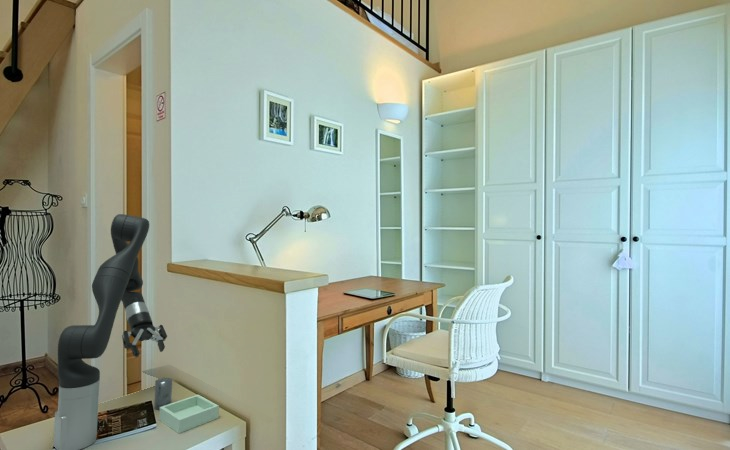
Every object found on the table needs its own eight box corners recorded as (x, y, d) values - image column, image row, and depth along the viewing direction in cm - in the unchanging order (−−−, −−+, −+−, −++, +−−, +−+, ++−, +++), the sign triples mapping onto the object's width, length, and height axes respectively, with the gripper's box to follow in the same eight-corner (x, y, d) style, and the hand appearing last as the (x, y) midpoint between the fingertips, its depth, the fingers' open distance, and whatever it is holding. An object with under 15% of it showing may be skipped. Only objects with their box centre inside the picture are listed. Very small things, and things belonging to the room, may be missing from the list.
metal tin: (158, 411, 127) (159, 384, 127) (151, 406, 130) (152, 380, 130) (173, 406, 131) (175, 380, 131) (166, 401, 134) (167, 376, 135)
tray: (178, 433, 114) (179, 420, 114) (159, 419, 122) (159, 407, 122) (218, 417, 124) (218, 405, 124) (197, 406, 132) (198, 394, 132)
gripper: (120, 313, 138) (132, 352, 131) (161, 308, 150) (173, 343, 142) (114, 325, 142) (125, 363, 134) (154, 319, 153) (166, 354, 146)
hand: (150, 353), depth 138 cm, fingers open, 8 cm apart
